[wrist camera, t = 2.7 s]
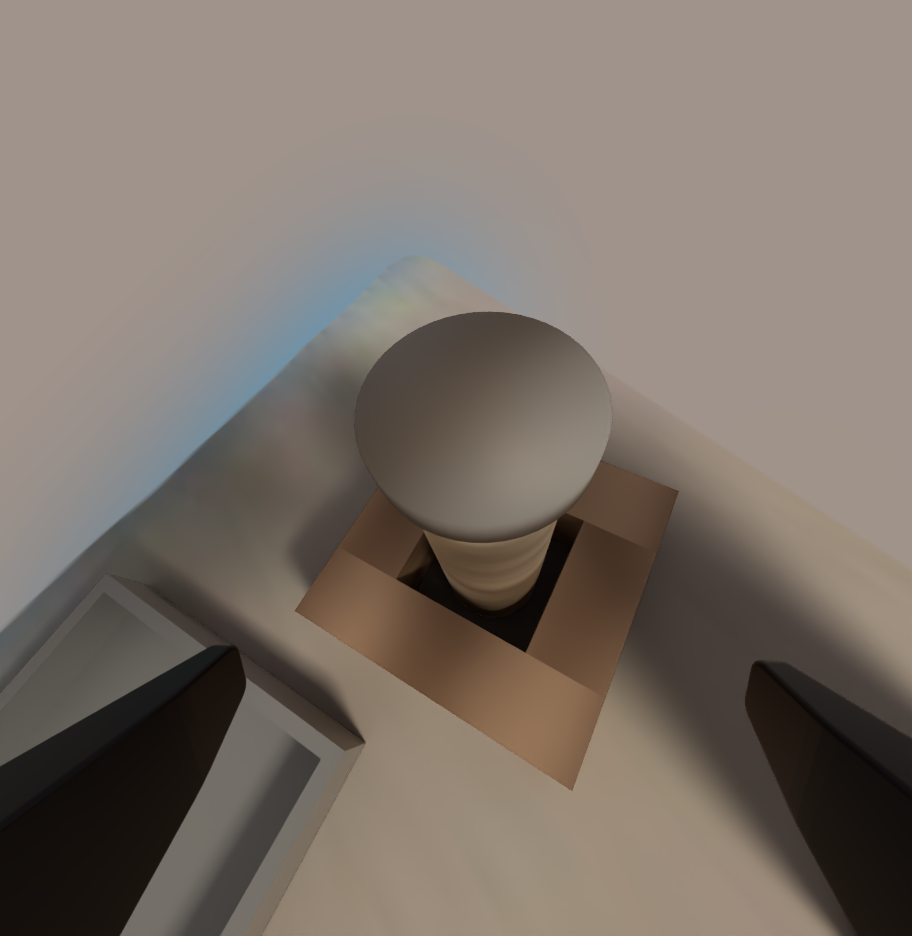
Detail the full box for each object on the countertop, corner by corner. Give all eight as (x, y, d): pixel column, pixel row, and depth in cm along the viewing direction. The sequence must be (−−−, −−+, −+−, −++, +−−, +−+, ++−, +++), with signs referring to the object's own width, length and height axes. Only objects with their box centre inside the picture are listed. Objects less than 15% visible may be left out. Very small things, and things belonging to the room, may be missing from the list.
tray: (365, 743, 17) (345, 751, 15) (104, 1224, 12) (14, 1345, 10) (148, 585, 21) (106, 573, 18) (-114, 900, 16) (-214, 934, 14)
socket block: (651, 522, 20) (678, 491, 17) (558, 770, 16) (571, 790, 13) (447, 435, 23) (439, 396, 20) (328, 623, 19) (294, 610, 16)
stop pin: (562, 549, 20) (648, 353, 8) (517, 648, 18) (546, 576, 6) (471, 506, 21) (434, 287, 10) (421, 594, 19) (303, 454, 8)
